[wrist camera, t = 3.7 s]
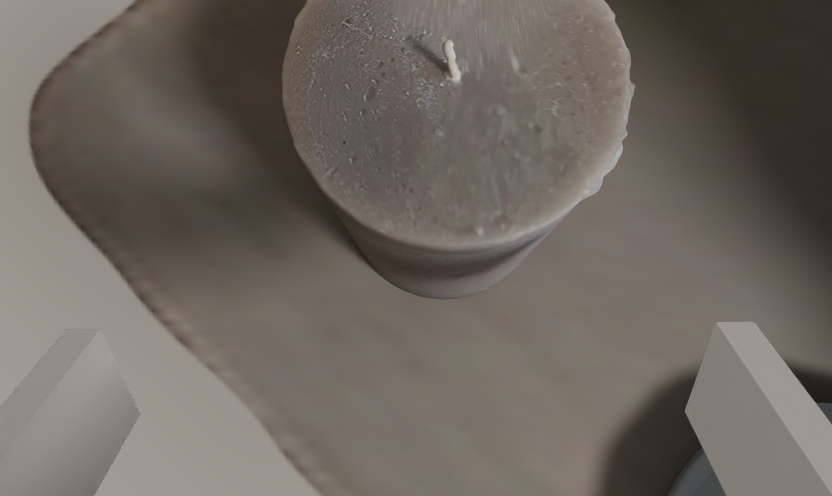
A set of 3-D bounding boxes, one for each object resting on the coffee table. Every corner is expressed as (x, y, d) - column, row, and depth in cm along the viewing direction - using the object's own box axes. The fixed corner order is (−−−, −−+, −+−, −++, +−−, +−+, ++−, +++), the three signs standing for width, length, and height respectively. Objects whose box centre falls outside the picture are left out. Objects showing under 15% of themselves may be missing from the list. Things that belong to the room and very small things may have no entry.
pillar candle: (318, 249, 28) (187, 136, 13) (403, 90, 29) (372, -174, 14) (490, 333, 27) (560, 316, 12) (569, 164, 28) (719, -39, 13)
